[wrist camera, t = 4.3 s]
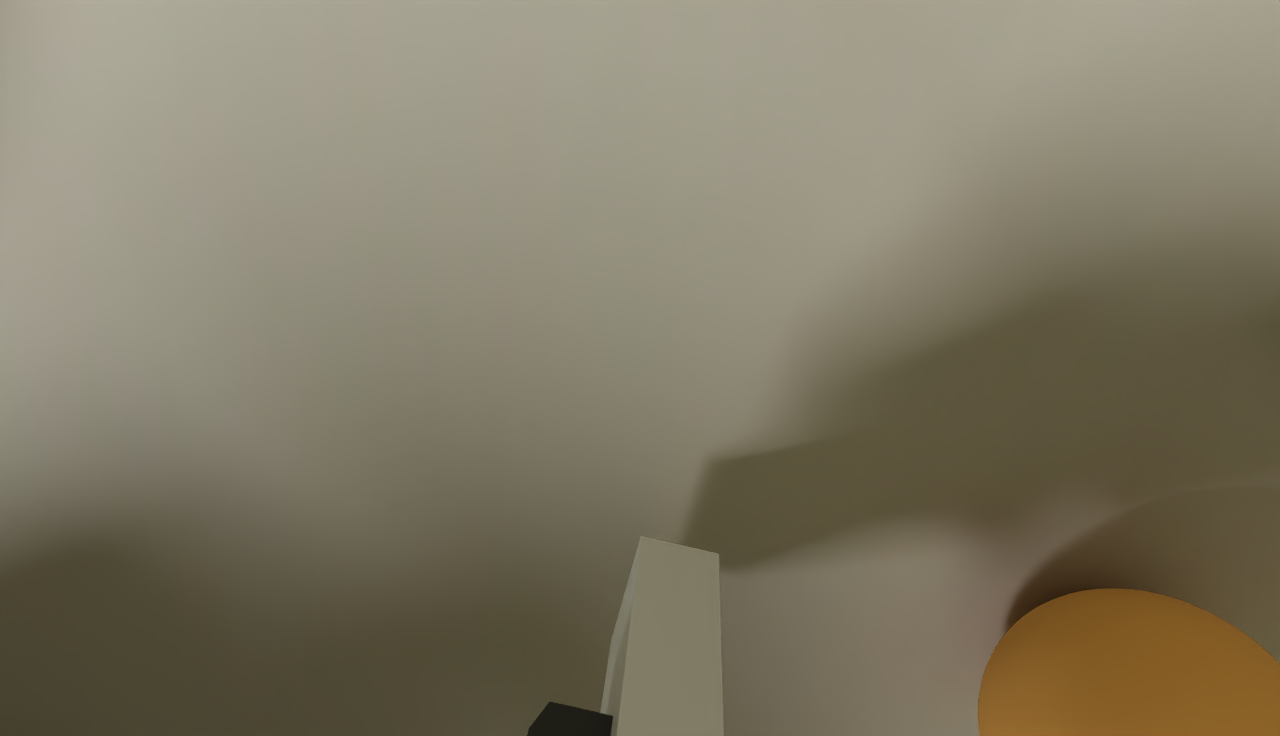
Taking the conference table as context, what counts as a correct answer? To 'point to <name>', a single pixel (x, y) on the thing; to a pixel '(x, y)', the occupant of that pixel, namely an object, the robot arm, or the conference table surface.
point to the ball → (1127, 671)
